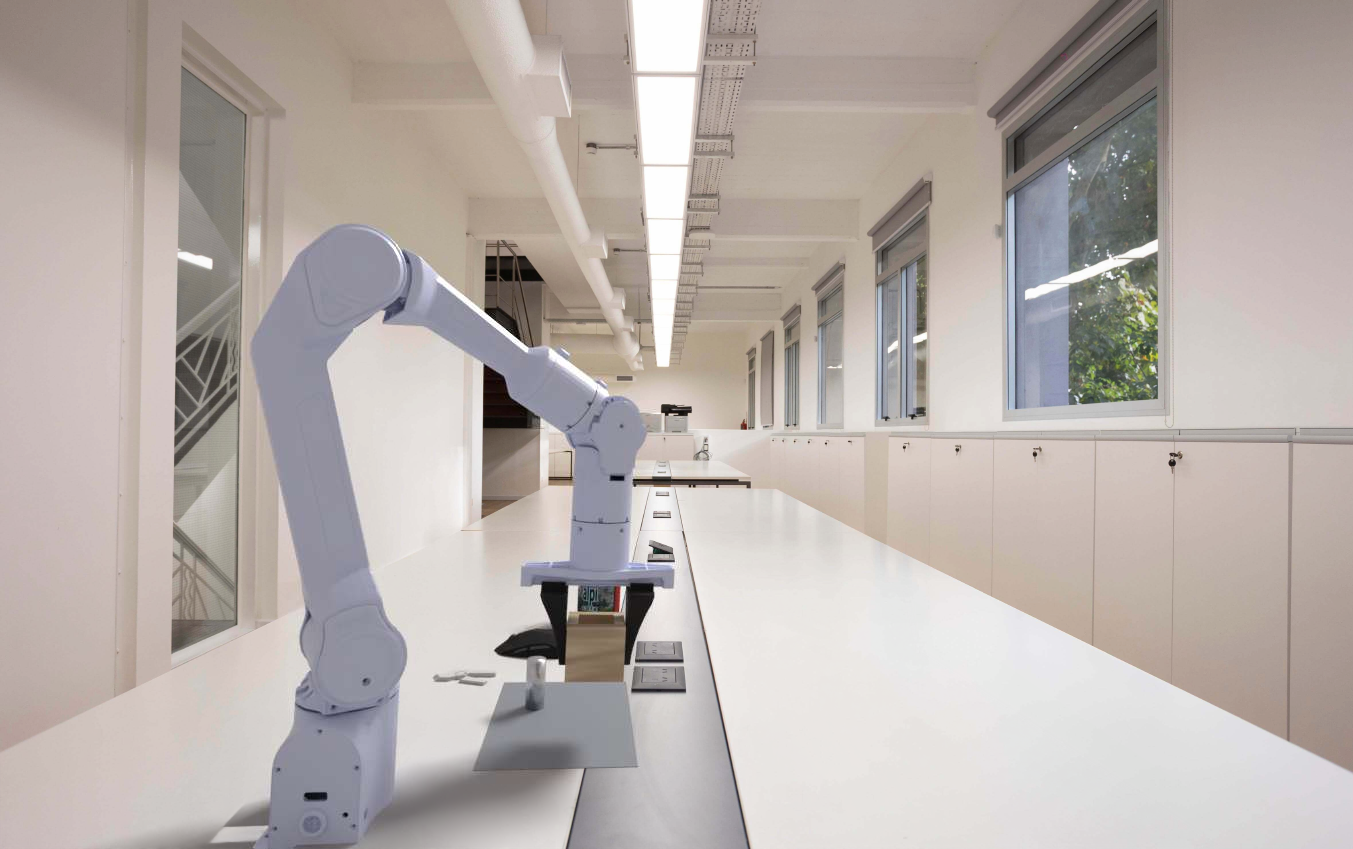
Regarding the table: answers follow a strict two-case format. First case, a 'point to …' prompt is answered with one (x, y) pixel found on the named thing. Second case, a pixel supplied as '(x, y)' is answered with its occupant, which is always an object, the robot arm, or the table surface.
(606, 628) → the birch collar
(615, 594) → the beverage can
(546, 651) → the gaming mouse
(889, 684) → the table surface
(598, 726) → the slate board
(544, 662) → the steel post
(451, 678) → the pliers
